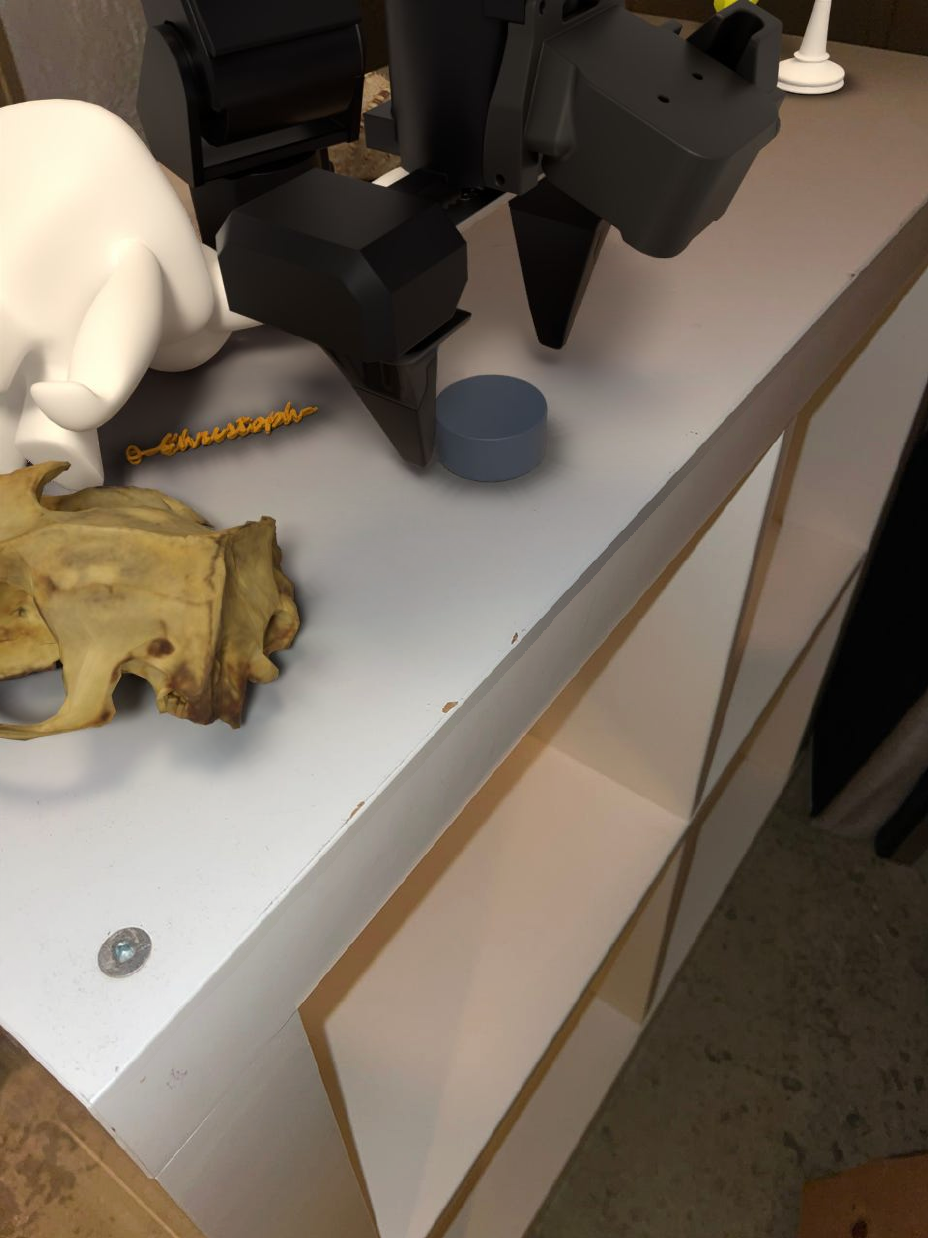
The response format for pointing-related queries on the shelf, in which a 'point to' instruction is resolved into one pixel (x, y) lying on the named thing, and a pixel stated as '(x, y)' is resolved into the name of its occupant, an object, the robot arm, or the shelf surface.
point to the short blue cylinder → (490, 427)
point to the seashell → (355, 155)
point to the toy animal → (93, 282)
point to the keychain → (218, 437)
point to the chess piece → (812, 59)
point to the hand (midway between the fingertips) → (488, 399)
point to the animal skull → (135, 600)
